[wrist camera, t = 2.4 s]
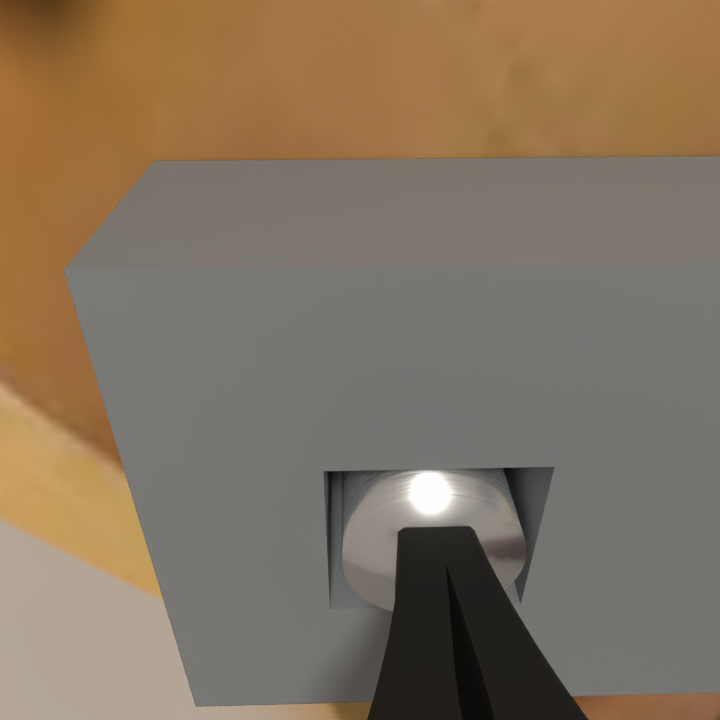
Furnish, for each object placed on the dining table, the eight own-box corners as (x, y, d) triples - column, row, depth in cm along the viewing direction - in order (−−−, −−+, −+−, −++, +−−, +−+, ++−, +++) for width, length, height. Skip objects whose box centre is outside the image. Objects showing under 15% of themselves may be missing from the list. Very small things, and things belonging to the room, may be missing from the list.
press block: (1195, 152, 13) (1587, 250, 9) (909, 528, 20) (1057, 683, 16) (153, 160, 13) (63, 270, 9) (226, 543, 19) (196, 706, 15)
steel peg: (488, 347, 15) (540, 495, 11) (472, 455, 17) (512, 613, 13) (340, 349, 15) (340, 499, 11) (342, 457, 17) (343, 617, 13)
